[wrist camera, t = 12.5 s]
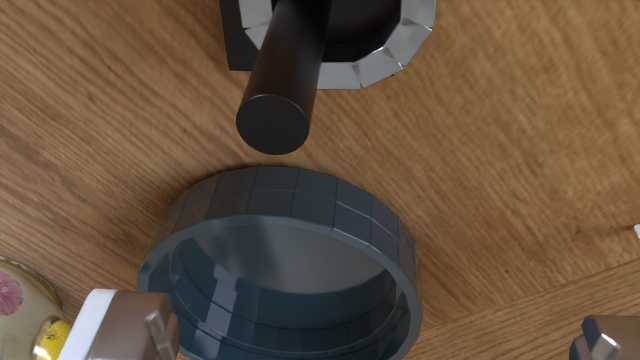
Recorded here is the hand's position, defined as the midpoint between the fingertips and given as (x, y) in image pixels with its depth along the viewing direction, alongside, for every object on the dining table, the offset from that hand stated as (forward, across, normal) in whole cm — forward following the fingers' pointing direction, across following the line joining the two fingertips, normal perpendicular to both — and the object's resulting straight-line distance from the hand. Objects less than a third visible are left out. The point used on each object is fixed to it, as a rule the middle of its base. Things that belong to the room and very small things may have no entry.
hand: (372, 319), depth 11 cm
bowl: (+18, +5, +19) cm, 27 cm away
